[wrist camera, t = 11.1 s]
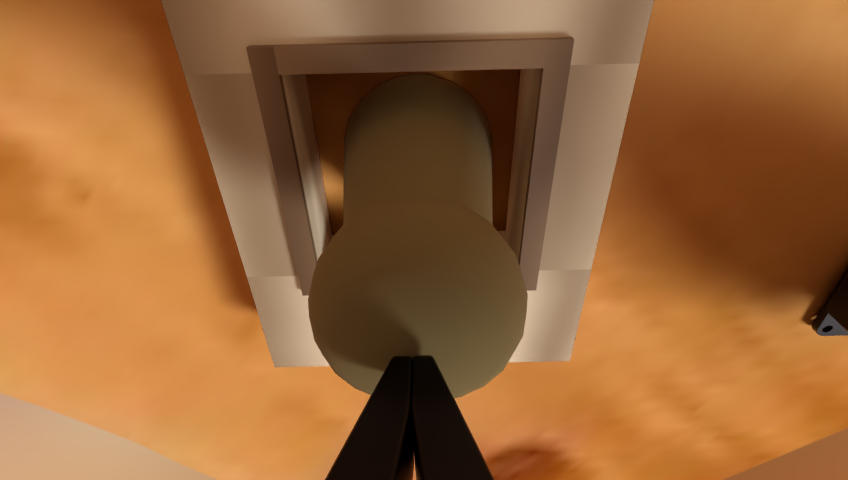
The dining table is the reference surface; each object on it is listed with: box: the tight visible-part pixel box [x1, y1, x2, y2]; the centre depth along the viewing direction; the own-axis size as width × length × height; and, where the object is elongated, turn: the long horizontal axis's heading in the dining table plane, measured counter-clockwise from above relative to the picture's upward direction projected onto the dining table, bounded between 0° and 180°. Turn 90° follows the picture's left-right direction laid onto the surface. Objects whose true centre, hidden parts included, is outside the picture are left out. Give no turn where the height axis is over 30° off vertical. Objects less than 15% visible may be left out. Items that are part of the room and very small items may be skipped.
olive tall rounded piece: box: [308, 74, 528, 398], centre depth 14 cm, size 6×6×11 cm
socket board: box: [161, 0, 654, 367], centre depth 17 cm, size 14×19×3 cm
